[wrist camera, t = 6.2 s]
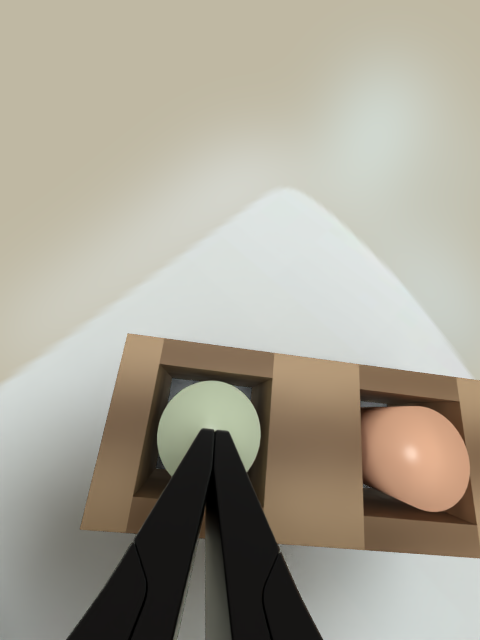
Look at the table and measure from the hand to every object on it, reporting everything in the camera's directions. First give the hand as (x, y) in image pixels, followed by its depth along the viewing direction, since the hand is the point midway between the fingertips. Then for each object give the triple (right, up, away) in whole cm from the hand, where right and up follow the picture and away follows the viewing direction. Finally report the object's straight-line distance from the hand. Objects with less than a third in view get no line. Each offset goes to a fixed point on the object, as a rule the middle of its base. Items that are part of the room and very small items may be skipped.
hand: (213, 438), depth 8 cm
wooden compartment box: (+4, -4, +10) cm, 12 cm away
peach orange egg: (+9, -4, +9) cm, 13 cm away
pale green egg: (-1, -3, +8) cm, 9 cm away
